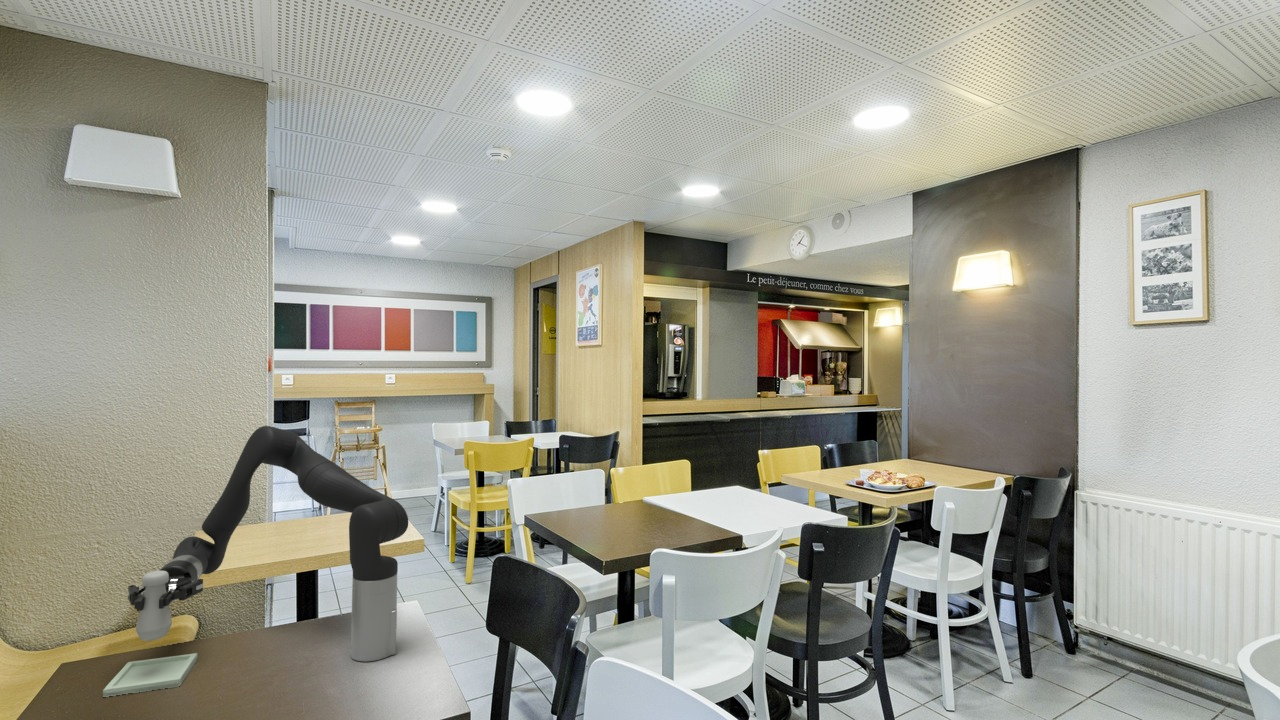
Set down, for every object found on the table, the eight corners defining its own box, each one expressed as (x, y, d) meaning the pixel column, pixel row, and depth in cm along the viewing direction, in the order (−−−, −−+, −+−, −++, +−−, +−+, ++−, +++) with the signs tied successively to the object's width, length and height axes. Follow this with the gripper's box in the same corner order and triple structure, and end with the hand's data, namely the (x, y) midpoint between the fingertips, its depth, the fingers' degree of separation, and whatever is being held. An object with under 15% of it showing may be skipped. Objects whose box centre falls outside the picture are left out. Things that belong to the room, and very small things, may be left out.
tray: (197, 660, 132) (197, 653, 132) (179, 686, 121) (179, 679, 121) (128, 669, 128) (128, 662, 128) (102, 697, 117) (103, 689, 117)
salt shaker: (151, 644, 121) (153, 578, 122) (127, 641, 123) (129, 575, 123) (178, 632, 127) (180, 569, 127) (156, 629, 128) (157, 566, 128)
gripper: (140, 562, 136) (106, 590, 120) (215, 556, 141) (193, 582, 125) (139, 597, 136) (105, 628, 120) (214, 589, 141) (191, 619, 125)
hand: (150, 604), depth 122 cm, fingers closed on salt shaker, 3 cm apart
